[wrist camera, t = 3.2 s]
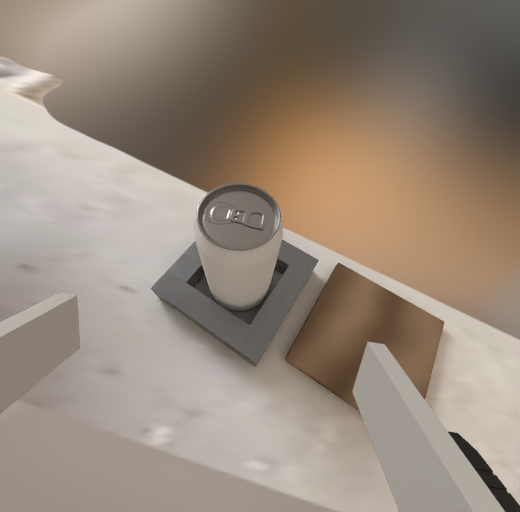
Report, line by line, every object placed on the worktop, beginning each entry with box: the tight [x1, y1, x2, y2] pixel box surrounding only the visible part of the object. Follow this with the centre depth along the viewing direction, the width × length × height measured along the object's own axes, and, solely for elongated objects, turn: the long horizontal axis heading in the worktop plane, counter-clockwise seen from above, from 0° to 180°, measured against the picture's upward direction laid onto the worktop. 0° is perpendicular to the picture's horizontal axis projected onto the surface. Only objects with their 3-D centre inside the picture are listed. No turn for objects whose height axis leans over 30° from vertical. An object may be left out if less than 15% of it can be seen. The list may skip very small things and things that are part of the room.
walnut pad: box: [285, 263, 444, 411], centre depth 24 cm, size 12×12×1 cm
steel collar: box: [151, 240, 319, 366], centre depth 26 cm, size 12×12×2 cm
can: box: [194, 183, 283, 311], centre depth 22 cm, size 6×6×12 cm
